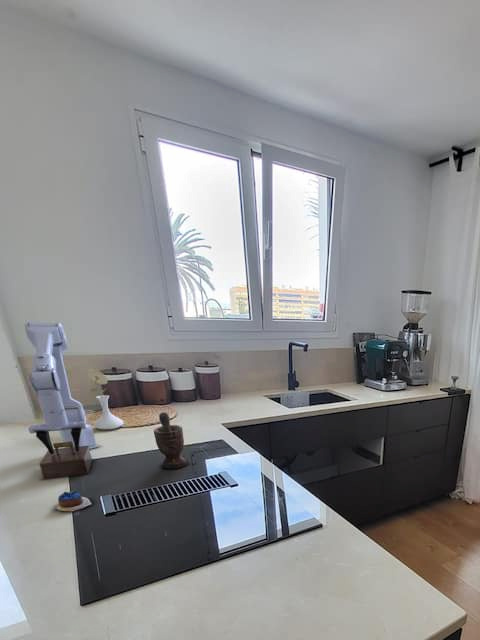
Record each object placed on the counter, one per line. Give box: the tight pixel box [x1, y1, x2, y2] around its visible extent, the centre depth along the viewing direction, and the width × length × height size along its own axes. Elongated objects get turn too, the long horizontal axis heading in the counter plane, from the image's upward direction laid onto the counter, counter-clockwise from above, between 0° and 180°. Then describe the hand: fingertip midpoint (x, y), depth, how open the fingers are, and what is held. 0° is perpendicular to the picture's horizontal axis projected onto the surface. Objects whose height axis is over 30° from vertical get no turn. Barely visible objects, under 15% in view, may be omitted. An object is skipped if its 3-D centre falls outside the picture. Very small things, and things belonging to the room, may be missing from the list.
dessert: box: [56, 490, 92, 512], centre depth 106 cm, size 8×7×6 cm
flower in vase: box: [86, 368, 125, 430], centre depth 168 cm, size 13×11×25 cm
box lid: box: [39, 441, 90, 467], centre depth 126 cm, size 14×11×4 cm
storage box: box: [39, 449, 93, 480], centre depth 128 cm, size 13×11×4 cm
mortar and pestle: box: [153, 411, 187, 470], centre depth 129 cm, size 12×9×20 cm
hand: (65, 451), depth 127 cm, fingers open, 6 cm apart
